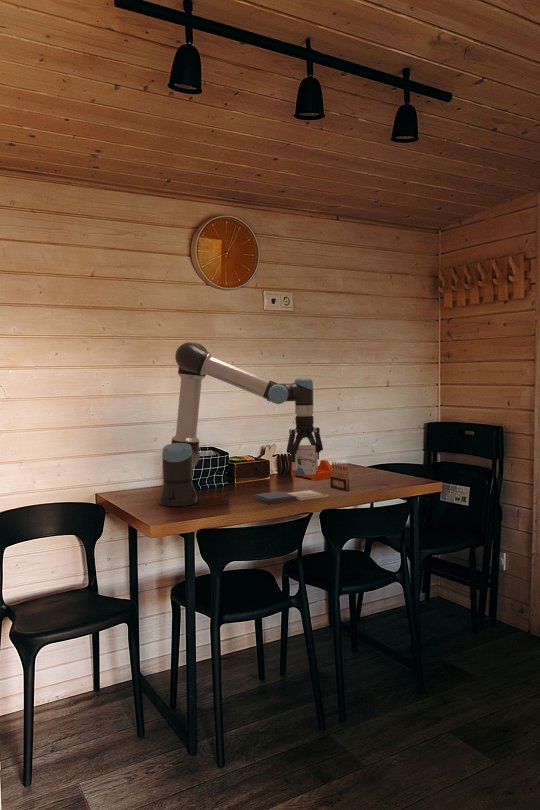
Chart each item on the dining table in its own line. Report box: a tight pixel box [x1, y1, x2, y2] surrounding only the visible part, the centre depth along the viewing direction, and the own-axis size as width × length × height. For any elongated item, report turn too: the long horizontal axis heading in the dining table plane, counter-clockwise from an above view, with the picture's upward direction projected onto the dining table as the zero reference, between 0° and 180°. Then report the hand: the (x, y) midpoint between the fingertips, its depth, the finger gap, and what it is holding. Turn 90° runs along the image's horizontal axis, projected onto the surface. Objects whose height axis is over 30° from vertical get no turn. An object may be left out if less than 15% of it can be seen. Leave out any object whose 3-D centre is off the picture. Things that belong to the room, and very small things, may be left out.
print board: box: [285, 489, 330, 501], centre depth 266 cm, size 14×14×1 cm
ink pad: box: [252, 490, 297, 505], centre depth 259 cm, size 13×13×2 cm
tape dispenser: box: [290, 459, 332, 482], centre depth 310 cm, size 18×13×8 cm
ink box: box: [295, 444, 316, 474], centre depth 265 cm, size 9×5×12 cm, turn 84°
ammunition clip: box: [329, 461, 350, 492], centre depth 279 cm, size 11×2×12 cm, turn 34°
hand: (305, 468), depth 266 cm, fingers closed on ink box, 9 cm apart
